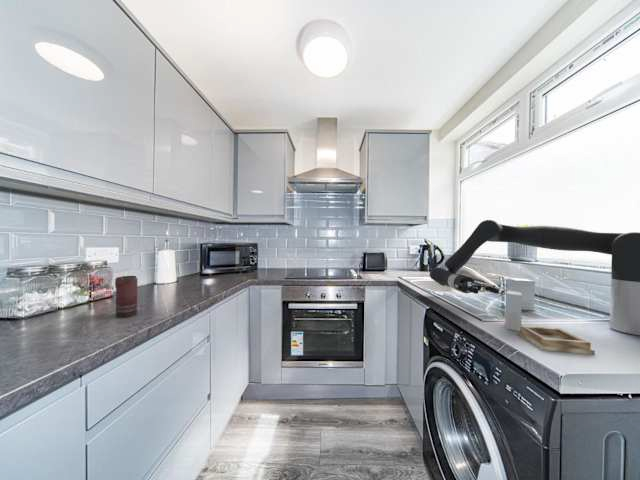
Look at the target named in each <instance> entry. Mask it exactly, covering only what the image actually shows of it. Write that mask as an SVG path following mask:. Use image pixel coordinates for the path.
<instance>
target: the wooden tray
mask: <svg viewBox="0 0 640 480" xmlns="http://www.w3.org/2000/svg"><path fill="white" fill-rule="evenodd" d="M516 334H517V335H518V336H520V337H521V338H523V339H525V340H526V341H528V342H529V343H531V344H533V345H534V346H535V347H538V349H541V350H542V351H548V352H549V351H551V352H561V353H572V354H583V355H585V354H586V355H595V354H596V353H595V352H596V351H595V349H593V348H591V345H592V343H591V342H590V341H587V340H585V339H583V338H581V337H578V336H576V335H574V334H572V333H570V332H568V331H566V330H564V329H562V328H557V327H544V326H543V327H542V326H531V325H521V326H520V331H518V330H516Z"/></svg>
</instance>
